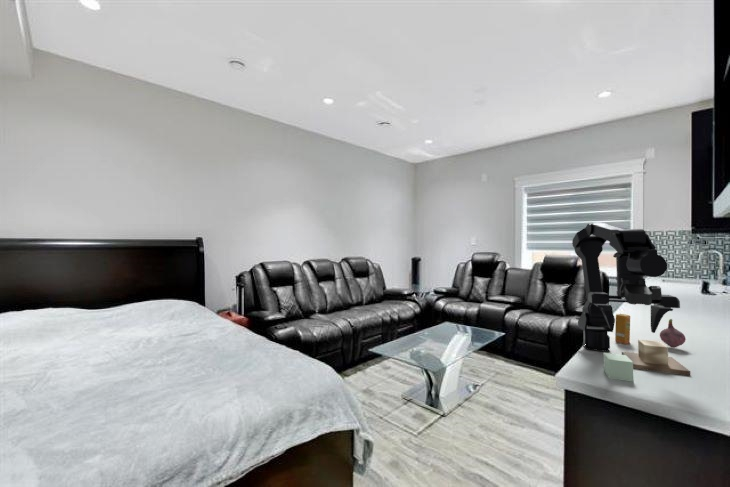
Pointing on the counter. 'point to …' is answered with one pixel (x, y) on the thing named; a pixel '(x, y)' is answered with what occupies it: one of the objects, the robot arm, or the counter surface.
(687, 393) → the counter surface
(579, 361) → the counter surface
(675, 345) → the vegetable
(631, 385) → the counter surface
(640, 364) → the walnut baseboard
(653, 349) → the beech brick
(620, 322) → the supplement box
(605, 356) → the sage green brick
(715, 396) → the counter surface
